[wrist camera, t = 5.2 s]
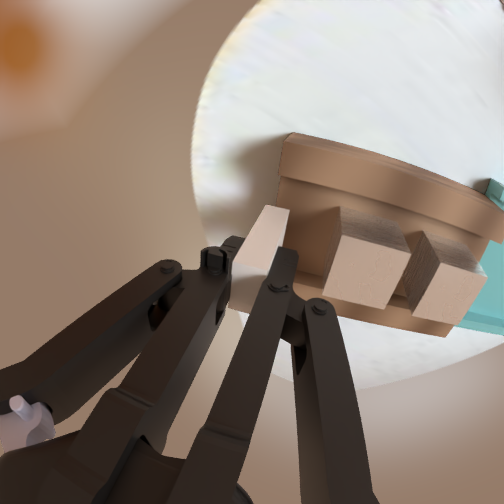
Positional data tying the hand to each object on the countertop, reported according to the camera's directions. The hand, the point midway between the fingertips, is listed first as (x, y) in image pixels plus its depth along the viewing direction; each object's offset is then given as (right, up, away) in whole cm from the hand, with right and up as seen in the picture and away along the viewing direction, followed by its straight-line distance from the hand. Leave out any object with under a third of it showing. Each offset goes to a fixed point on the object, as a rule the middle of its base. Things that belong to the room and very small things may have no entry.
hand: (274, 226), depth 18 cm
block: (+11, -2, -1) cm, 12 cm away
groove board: (+8, 0, +2) cm, 9 cm away
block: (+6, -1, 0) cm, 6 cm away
